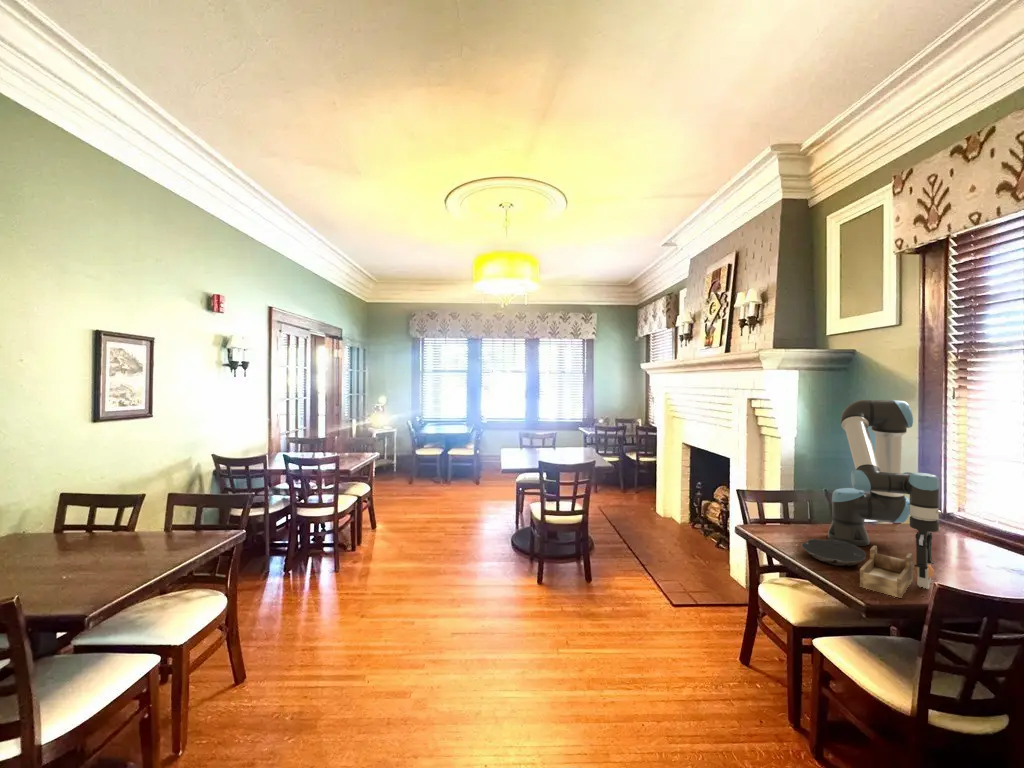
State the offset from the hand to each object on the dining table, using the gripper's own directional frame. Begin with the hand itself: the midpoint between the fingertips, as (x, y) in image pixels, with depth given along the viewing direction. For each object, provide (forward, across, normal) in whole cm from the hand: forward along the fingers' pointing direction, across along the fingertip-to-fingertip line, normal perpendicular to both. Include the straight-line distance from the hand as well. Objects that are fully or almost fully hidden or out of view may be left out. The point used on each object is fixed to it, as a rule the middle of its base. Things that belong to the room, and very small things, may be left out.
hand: (924, 583), depth 155 cm
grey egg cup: (+1, 0, 0) cm, 1 cm away
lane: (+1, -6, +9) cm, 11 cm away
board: (+2, +5, +28) cm, 28 cm away
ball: (-5, 0, 0) cm, 5 cm away
